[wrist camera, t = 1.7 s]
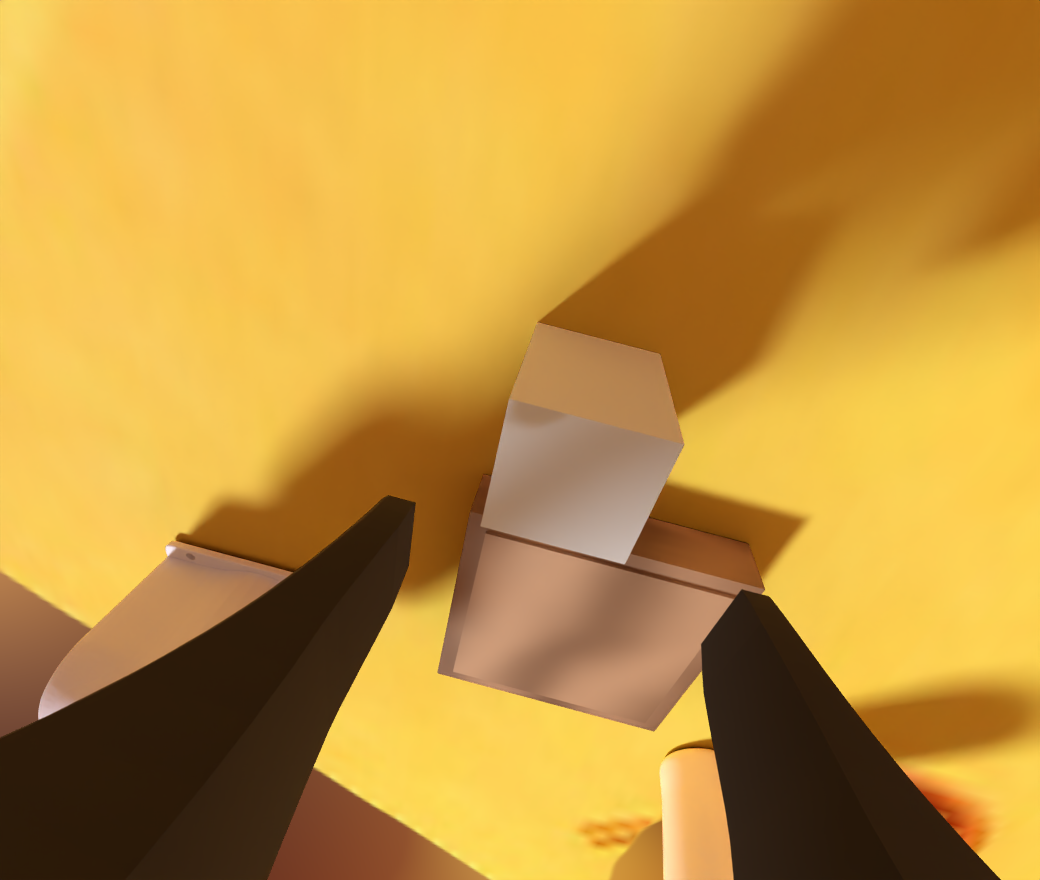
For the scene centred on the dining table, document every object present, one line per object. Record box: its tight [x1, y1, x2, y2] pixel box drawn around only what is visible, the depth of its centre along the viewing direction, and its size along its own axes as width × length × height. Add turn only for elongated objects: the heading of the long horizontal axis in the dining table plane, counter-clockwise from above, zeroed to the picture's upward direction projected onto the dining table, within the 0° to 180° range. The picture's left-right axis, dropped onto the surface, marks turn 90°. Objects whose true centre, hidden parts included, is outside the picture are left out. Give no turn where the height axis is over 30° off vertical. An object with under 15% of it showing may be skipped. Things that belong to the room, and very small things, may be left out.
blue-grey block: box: [481, 322, 684, 564], centre depth 15 cm, size 4×4×6 cm
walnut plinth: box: [438, 474, 765, 731], centre depth 23 cm, size 12×12×3 cm
